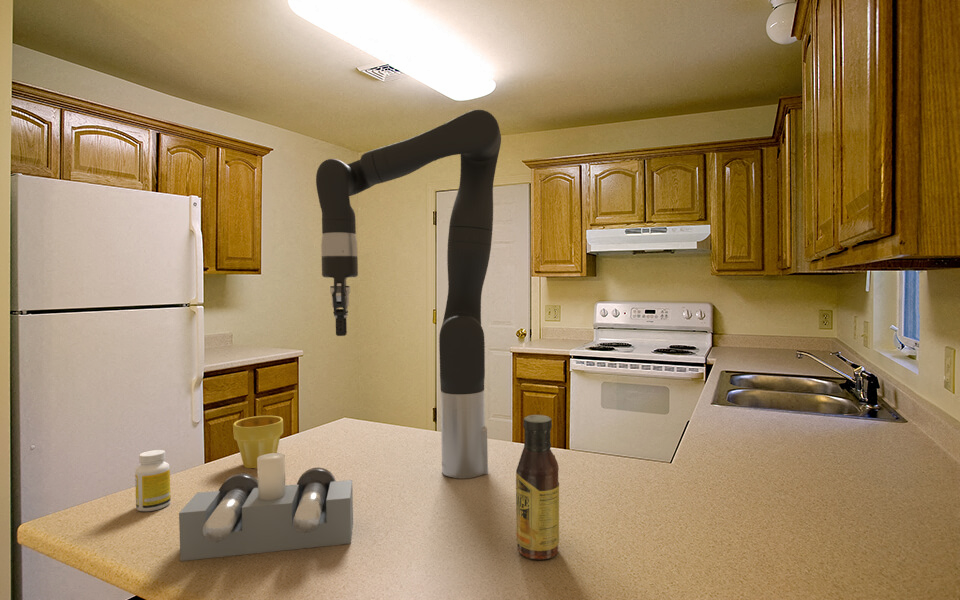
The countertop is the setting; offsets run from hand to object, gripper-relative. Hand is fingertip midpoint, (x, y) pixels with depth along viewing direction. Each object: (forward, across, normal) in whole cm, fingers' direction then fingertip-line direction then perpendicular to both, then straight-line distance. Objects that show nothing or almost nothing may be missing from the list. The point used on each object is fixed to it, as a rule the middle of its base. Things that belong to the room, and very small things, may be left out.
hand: (341, 335), depth 117 cm
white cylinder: (+22, -32, +9) cm, 40 cm away
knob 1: (+27, -33, +15) cm, 45 cm away
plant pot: (+29, +8, +19) cm, 36 cm away
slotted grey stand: (+29, -32, +9) cm, 44 cm away
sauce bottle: (+29, -45, -30) cm, 61 cm away
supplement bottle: (+29, -13, +33) cm, 46 cm away
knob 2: (+27, -33, +3) cm, 42 cm away
